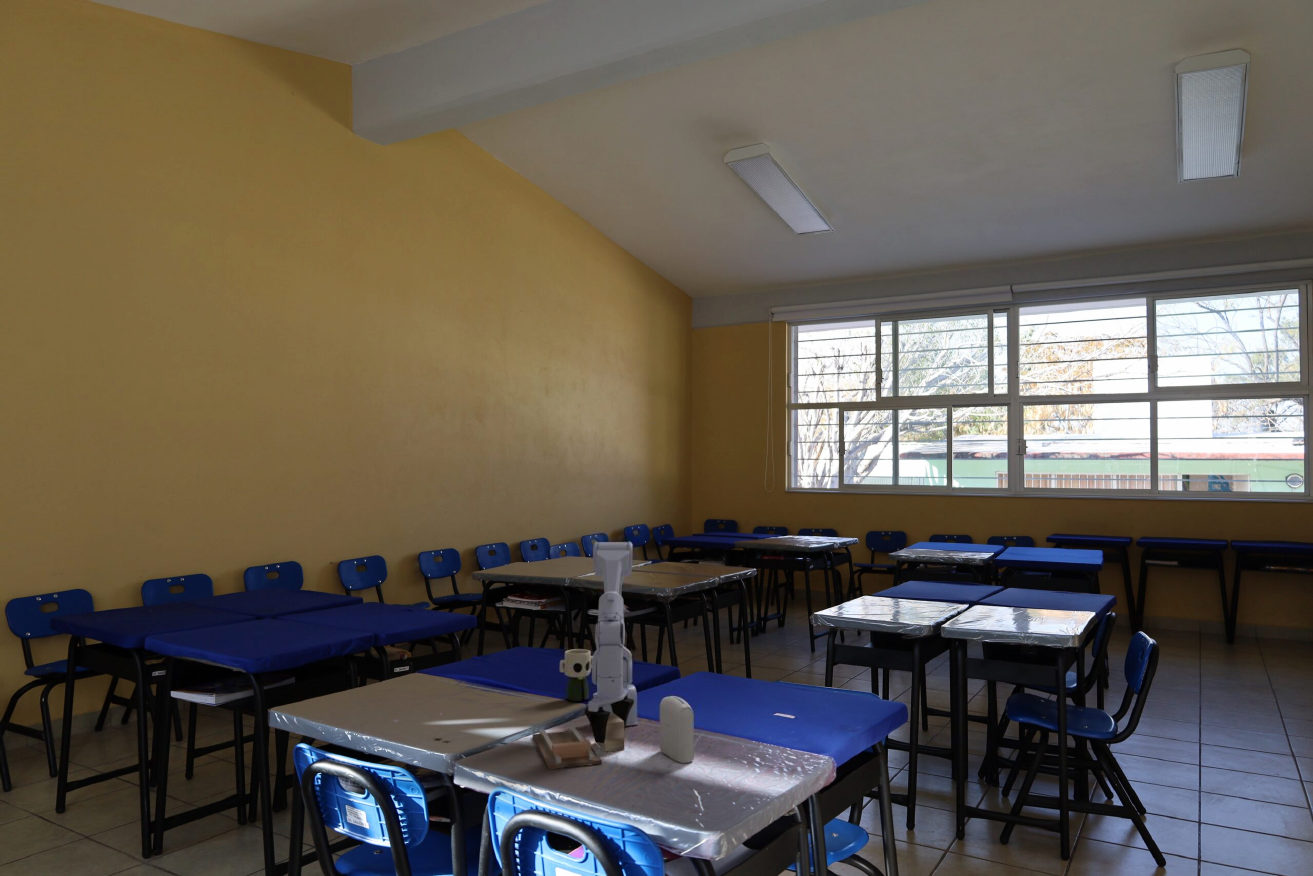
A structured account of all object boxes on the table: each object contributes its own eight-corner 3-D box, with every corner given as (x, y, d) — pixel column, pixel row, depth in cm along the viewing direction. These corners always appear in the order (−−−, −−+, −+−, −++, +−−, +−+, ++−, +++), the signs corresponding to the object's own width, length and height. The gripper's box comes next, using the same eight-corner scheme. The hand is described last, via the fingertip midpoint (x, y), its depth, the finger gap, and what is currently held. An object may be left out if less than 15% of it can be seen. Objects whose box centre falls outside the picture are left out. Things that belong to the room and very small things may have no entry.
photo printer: (657, 750, 176) (657, 693, 176) (674, 748, 177) (674, 691, 178) (678, 765, 166) (678, 704, 167) (696, 762, 168) (696, 702, 169)
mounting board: (579, 733, 188) (579, 730, 188) (601, 764, 167) (601, 760, 167) (532, 738, 184) (532, 734, 184) (549, 769, 164) (549, 765, 164)
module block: (614, 740, 183) (613, 713, 183) (624, 749, 176) (623, 721, 177) (595, 742, 181) (595, 715, 181) (604, 752, 175) (604, 724, 175)
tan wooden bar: (588, 752, 172) (588, 740, 172) (590, 755, 170) (591, 743, 170) (551, 756, 169) (552, 744, 169) (553, 759, 167) (553, 747, 168)
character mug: (566, 705, 212) (566, 656, 213) (553, 700, 218) (553, 651, 219) (601, 699, 218) (601, 651, 219) (588, 694, 224) (588, 647, 225)
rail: (573, 731, 187) (573, 726, 187) (594, 760, 167) (594, 754, 167) (539, 734, 184) (539, 729, 185) (556, 764, 165) (556, 758, 165)
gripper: (611, 667, 188) (611, 726, 187) (576, 679, 175) (576, 743, 174) (637, 670, 185) (637, 730, 184) (604, 683, 172) (603, 748, 171)
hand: (609, 737), depth 179 cm, fingers closed on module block, 7 cm apart
